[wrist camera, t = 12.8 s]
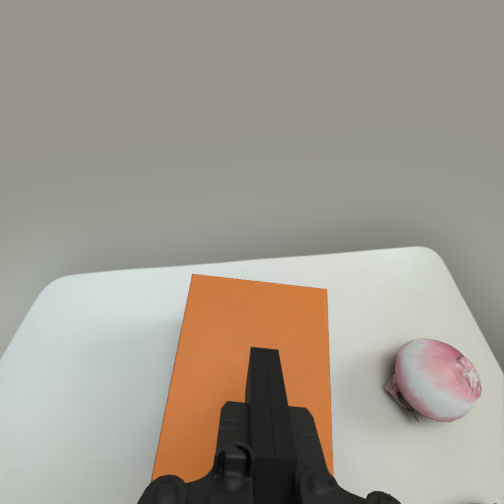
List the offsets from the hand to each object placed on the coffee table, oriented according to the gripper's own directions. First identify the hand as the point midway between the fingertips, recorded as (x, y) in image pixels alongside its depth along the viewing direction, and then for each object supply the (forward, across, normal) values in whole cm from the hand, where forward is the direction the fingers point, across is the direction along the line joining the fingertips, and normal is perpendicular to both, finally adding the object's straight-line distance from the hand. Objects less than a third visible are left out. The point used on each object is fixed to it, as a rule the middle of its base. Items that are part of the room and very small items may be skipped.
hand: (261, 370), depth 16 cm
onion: (+15, +19, -10) cm, 26 cm away
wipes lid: (+7, 0, -6) cm, 9 cm away
